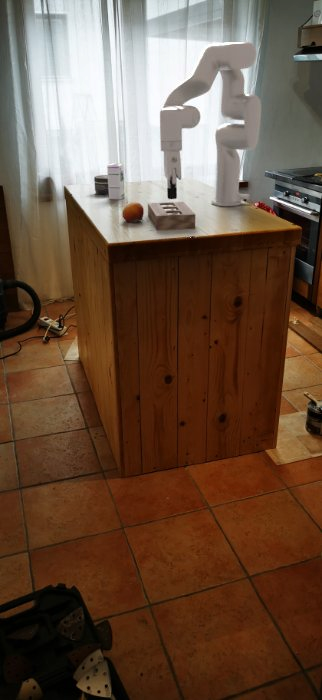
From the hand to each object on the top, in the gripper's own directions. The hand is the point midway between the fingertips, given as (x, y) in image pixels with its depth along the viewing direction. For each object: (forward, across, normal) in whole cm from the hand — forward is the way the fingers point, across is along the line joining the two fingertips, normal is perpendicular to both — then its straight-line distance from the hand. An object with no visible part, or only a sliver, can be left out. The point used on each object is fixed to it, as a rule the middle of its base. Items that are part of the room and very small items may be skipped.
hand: (172, 198), depth 206 cm
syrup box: (+10, +47, +17) cm, 51 cm away
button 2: (+6, -1, +1) cm, 6 cm away
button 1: (+6, +6, +1) cm, 9 cm away
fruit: (+8, +3, +14) cm, 17 cm away
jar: (+10, +59, +21) cm, 63 cm away
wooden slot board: (+8, -1, +1) cm, 9 cm away
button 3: (+6, -8, +1) cm, 10 cm away
